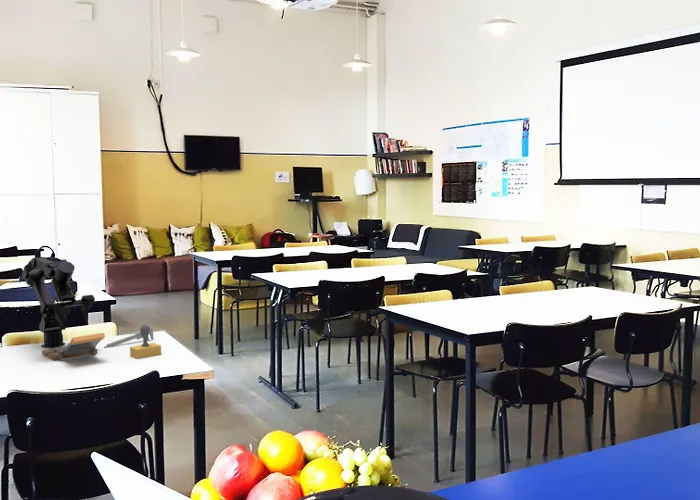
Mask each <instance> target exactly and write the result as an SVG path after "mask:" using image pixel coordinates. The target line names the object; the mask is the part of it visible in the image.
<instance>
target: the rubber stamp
mask: <svg viewBox="0 0 700 500" xmlns="http://www.w3.org/2000/svg"><path fill="white" fill-rule="evenodd" d="M149 326H150V325H148V324H142V325H141V326H140V328H139V332H141V335H142V337H143V338H142V339H143V340H142V341H143V343H142V344H138V345H132V346H130V347H129V350H130V351H129V352H130V353H129V356H130V357H131V358H134V359H135V360H136V359H143V358H149V357H150V358H151V357H154V356H159V355H162V345H160V344H158V343H155V342H150V343H148V341H147V338H148V337H149V336H150V334H149V332H150V328H151V327H150V328H149Z"/></svg>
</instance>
